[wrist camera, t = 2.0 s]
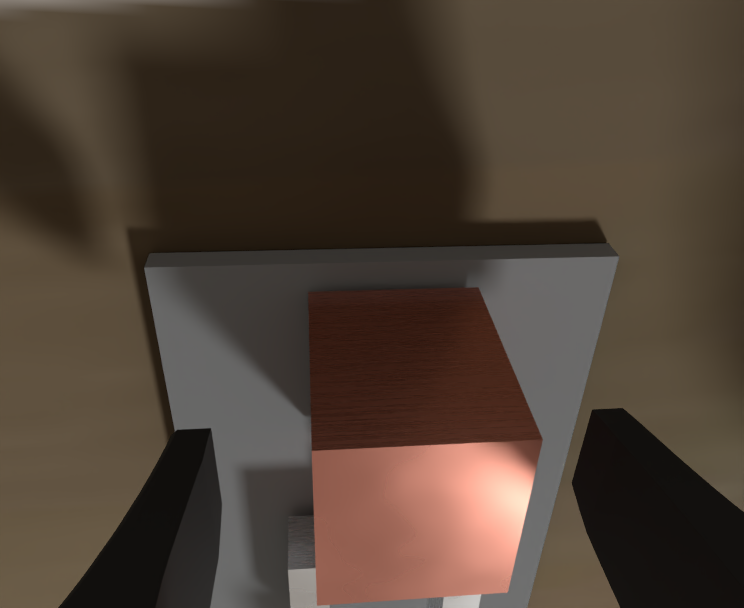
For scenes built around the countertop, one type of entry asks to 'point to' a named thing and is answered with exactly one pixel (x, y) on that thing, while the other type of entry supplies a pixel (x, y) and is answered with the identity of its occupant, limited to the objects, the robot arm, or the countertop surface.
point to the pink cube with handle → (411, 452)
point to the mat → (292, 377)
